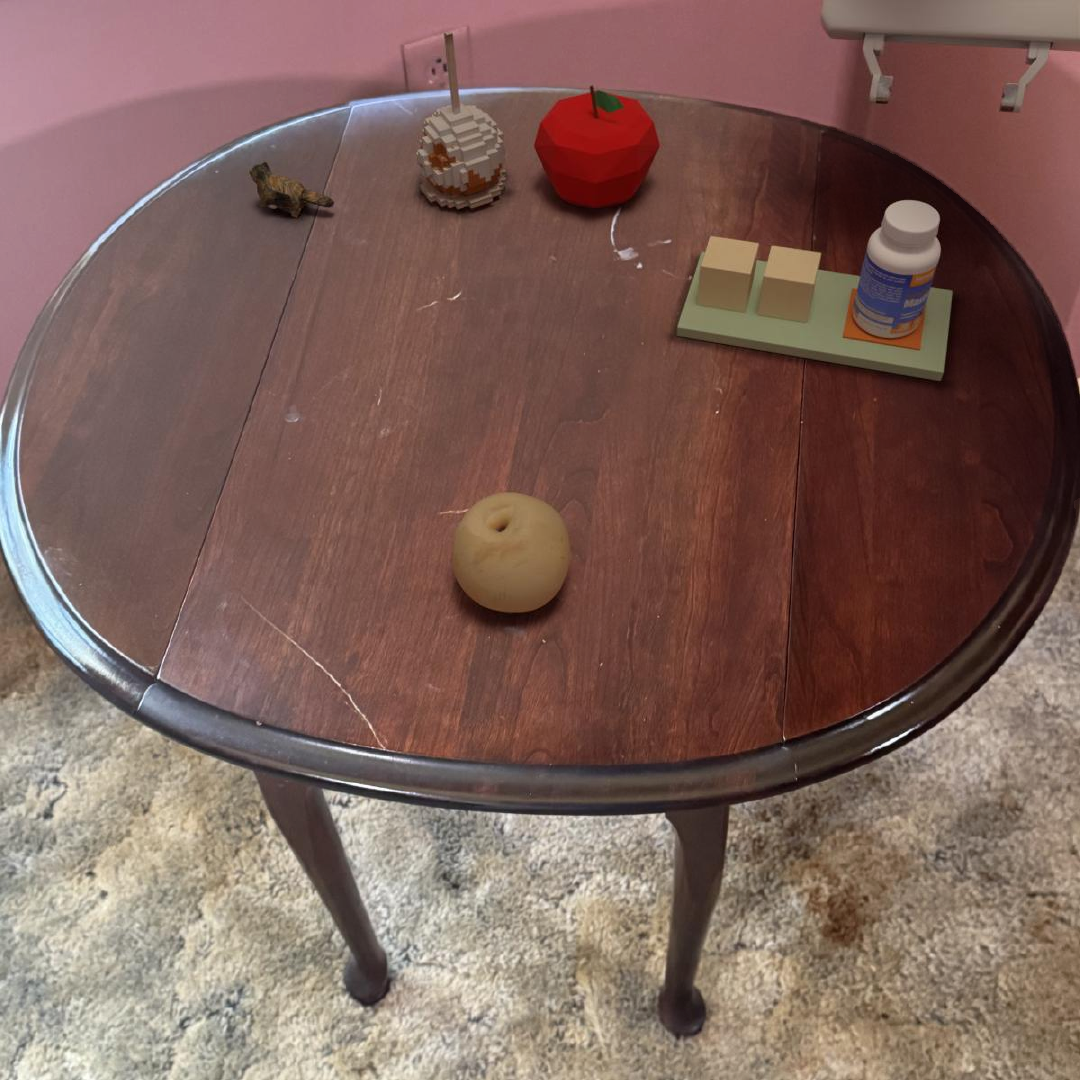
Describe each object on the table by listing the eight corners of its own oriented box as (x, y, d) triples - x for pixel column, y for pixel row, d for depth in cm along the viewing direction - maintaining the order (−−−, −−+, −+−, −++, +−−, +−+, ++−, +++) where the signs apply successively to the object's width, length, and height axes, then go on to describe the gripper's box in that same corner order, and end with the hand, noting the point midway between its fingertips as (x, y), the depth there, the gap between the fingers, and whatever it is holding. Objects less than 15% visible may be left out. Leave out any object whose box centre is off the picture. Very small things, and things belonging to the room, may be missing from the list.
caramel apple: (409, 179, 105) (386, 25, 93) (482, 155, 107) (469, 0, 95) (444, 223, 101) (425, 67, 89) (520, 196, 103) (511, 40, 91)
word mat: (949, 299, 92) (966, 250, 88) (940, 381, 87) (957, 333, 83) (700, 260, 97) (705, 211, 93) (676, 336, 91) (680, 287, 87)
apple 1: (589, 619, 74) (533, 587, 67) (486, 629, 77) (424, 600, 71) (592, 508, 76) (538, 468, 70) (492, 523, 80) (432, 487, 74)
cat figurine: (257, 191, 104) (255, 155, 101) (338, 217, 104) (339, 182, 101) (245, 208, 103) (242, 172, 99) (326, 235, 102) (327, 200, 99)
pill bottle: (904, 349, 87) (935, 247, 80) (840, 325, 89) (864, 224, 81) (930, 309, 90) (962, 207, 82) (866, 287, 92) (892, 185, 84)
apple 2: (515, 187, 104) (510, 88, 96) (597, 141, 108) (598, 42, 100) (594, 238, 99) (595, 137, 91) (677, 187, 103) (684, 87, 95)
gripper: (832, -112, 81) (800, 89, 84) (1141, -108, 75) (1094, 108, 78) (837, -83, 87) (807, 105, 90) (1124, -77, 81) (1081, 123, 84)
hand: (943, 106), depth 84 cm, fingers open, 8 cm apart
